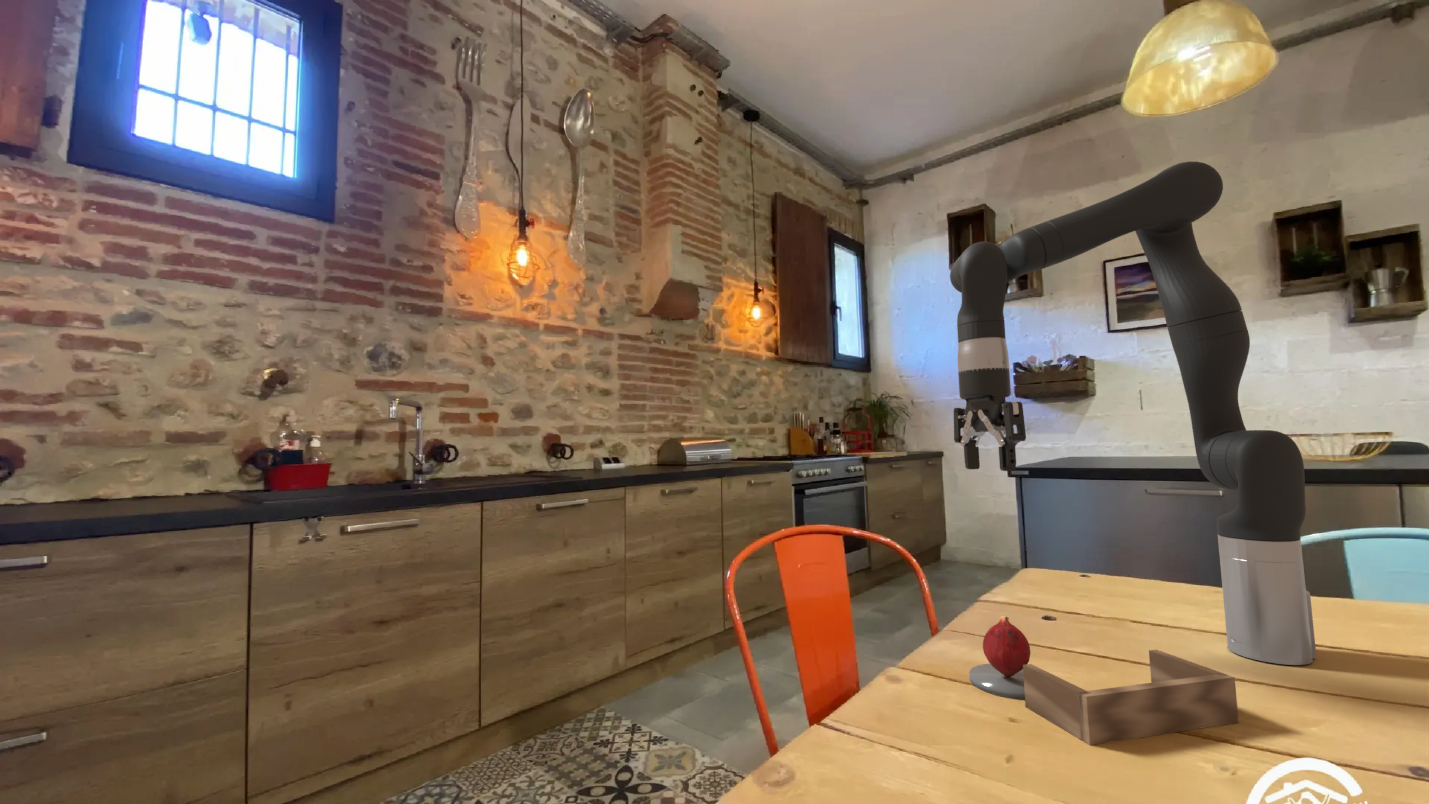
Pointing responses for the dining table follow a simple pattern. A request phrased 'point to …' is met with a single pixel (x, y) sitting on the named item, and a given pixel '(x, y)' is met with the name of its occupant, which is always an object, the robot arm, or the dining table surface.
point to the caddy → (1136, 701)
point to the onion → (1006, 647)
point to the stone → (997, 681)
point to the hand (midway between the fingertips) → (989, 469)
